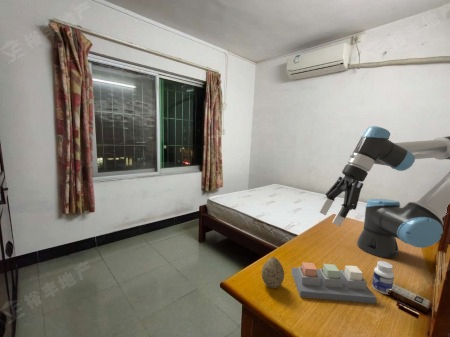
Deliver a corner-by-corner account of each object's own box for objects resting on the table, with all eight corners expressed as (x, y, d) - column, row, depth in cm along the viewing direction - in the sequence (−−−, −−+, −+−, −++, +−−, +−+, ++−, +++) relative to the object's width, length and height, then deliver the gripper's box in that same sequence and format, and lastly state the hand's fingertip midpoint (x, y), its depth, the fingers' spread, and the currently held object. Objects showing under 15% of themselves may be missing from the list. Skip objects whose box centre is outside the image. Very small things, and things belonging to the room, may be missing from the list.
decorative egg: (266, 276, 74) (267, 249, 73) (286, 284, 70) (288, 256, 69) (257, 287, 68) (259, 259, 67) (278, 297, 64) (281, 266, 63)
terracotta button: (312, 271, 71) (313, 262, 71) (316, 278, 68) (316, 269, 68) (301, 270, 72) (302, 262, 71) (304, 277, 68) (305, 268, 68)
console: (354, 277, 75) (356, 265, 74) (375, 303, 63) (377, 289, 62) (291, 272, 77) (292, 261, 76) (300, 296, 65) (301, 283, 64)
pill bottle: (369, 282, 73) (373, 258, 72) (388, 286, 71) (391, 261, 70) (374, 292, 68) (377, 266, 67) (394, 296, 66) (398, 270, 65)
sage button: (333, 272, 71) (334, 264, 70) (338, 279, 67) (339, 271, 67) (322, 271, 71) (323, 263, 71) (326, 278, 68) (327, 270, 67)
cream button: (355, 274, 70) (356, 266, 70) (361, 281, 67) (362, 272, 66) (344, 273, 71) (345, 265, 70) (349, 280, 67) (350, 272, 67)
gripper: (333, 162, 89) (309, 206, 91) (366, 164, 64) (332, 224, 66) (350, 170, 89) (325, 214, 91) (390, 175, 64) (354, 236, 66)
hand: (328, 218), depth 79 cm, fingers open, 13 cm apart
